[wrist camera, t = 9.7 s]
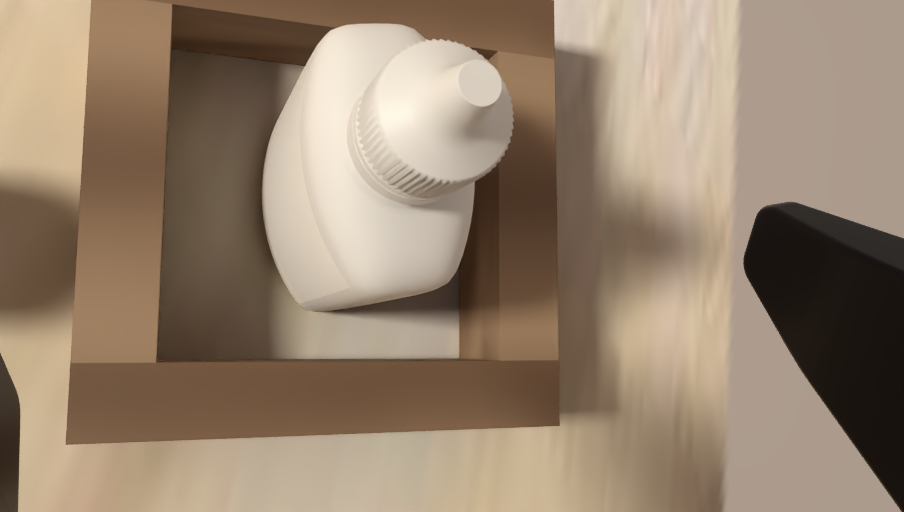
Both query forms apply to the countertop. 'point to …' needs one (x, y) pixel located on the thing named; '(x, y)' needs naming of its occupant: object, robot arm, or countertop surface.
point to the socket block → (307, 380)
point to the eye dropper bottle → (380, 165)
